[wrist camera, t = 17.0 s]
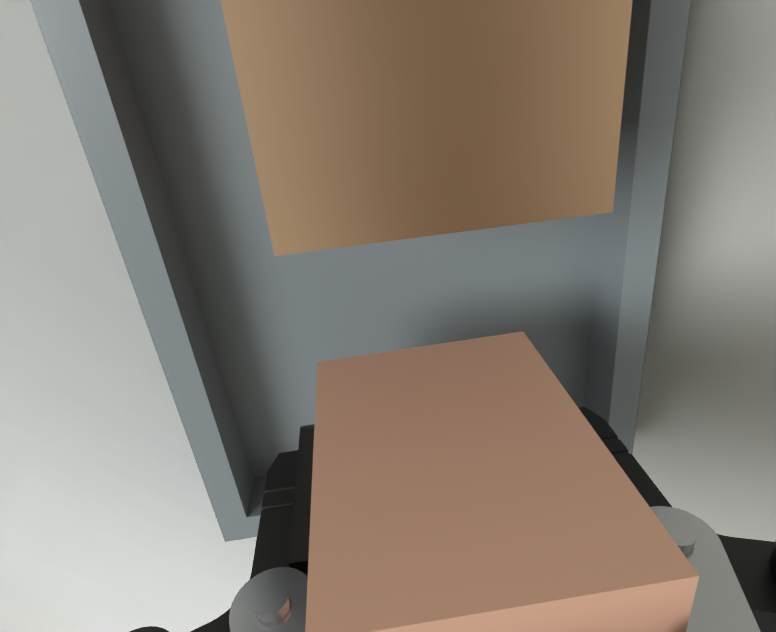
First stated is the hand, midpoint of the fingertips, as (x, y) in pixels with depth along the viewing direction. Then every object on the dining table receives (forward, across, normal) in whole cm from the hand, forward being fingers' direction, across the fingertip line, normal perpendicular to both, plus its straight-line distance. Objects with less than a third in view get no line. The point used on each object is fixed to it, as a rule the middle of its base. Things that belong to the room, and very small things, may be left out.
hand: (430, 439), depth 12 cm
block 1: (+3, 0, -8) cm, 9 cm away
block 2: (0, 0, 0) cm, 0 cm away
